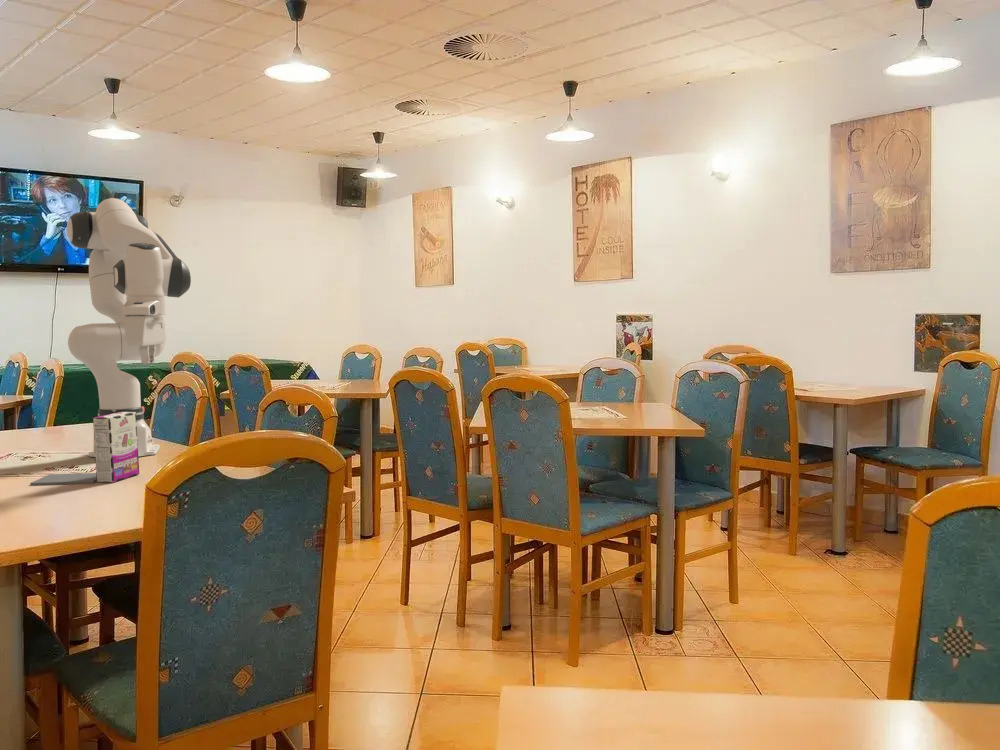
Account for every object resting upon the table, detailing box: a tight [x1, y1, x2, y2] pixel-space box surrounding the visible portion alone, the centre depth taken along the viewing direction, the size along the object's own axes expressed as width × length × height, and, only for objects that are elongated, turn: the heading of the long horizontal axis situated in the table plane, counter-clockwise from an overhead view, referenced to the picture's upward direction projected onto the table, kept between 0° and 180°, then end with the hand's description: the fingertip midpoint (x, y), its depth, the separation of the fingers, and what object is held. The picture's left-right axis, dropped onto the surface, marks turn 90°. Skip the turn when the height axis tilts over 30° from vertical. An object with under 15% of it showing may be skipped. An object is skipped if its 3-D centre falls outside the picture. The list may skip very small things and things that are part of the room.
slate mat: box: [30, 472, 98, 486], centre depth 207 cm, size 11×14×1 cm
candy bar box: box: [92, 412, 140, 484], centre depth 207 cm, size 11×5×16 cm, turn 171°
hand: (148, 363), depth 207 cm, fingers closed
